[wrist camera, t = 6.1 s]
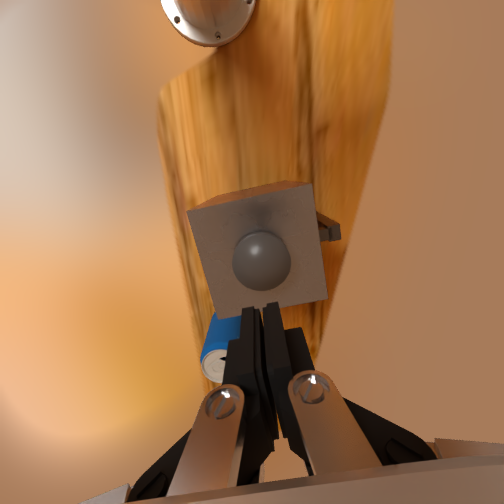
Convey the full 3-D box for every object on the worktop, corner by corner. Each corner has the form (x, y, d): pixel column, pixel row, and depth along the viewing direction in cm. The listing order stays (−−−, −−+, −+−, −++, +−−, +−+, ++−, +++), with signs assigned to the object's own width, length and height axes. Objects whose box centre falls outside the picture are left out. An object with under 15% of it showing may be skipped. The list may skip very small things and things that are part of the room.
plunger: (223, 201, 39) (195, 223, 20) (280, 188, 38) (306, 199, 20) (236, 255, 41) (223, 319, 23) (290, 244, 41) (321, 300, 22)
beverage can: (252, 326, 47) (252, 374, 35) (223, 340, 48) (213, 391, 36) (236, 298, 45) (230, 340, 34) (205, 313, 46) (189, 359, 35)
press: (217, 195, 40) (186, 211, 22) (302, 176, 39) (345, 176, 21) (233, 259, 43) (218, 319, 25) (312, 243, 42) (357, 293, 24)
